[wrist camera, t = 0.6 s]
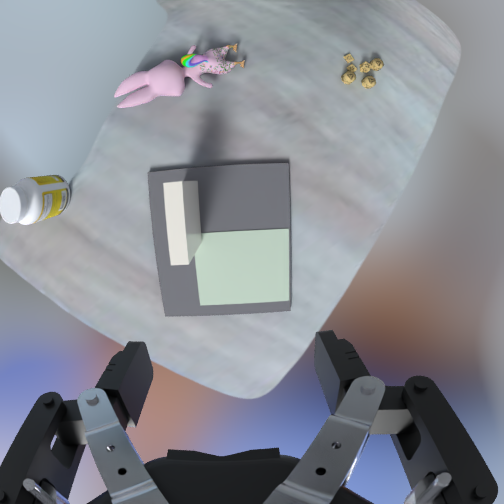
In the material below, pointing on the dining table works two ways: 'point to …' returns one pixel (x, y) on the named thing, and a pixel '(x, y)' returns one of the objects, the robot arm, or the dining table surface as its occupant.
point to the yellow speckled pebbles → (364, 67)
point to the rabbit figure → (174, 76)
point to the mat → (228, 241)
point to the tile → (182, 220)
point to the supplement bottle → (34, 199)
